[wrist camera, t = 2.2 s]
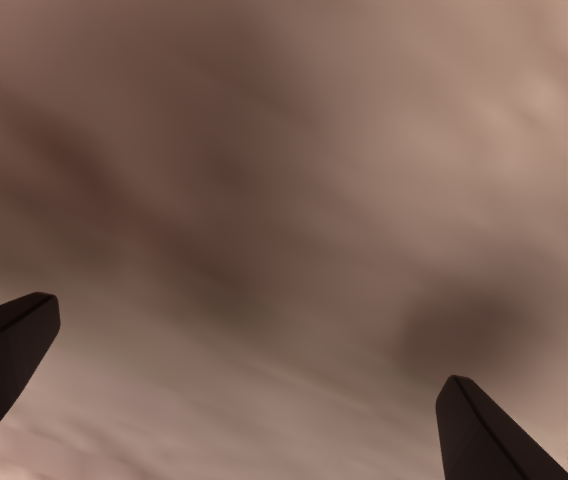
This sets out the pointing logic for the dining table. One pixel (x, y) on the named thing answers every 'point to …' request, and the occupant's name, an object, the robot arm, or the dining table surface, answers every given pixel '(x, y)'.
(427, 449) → the dining table surface
